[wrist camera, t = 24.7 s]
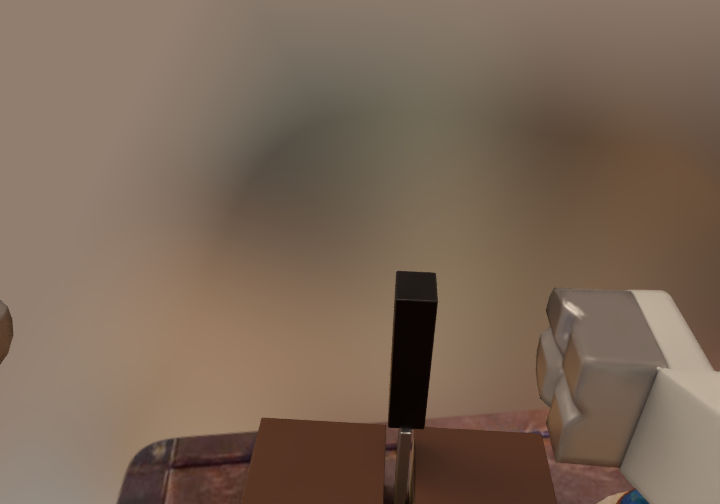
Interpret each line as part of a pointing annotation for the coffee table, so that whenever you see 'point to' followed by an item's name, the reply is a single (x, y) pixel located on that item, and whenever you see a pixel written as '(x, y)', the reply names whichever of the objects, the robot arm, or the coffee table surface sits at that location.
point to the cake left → (316, 463)
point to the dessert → (625, 498)
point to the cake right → (479, 468)
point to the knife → (410, 363)
